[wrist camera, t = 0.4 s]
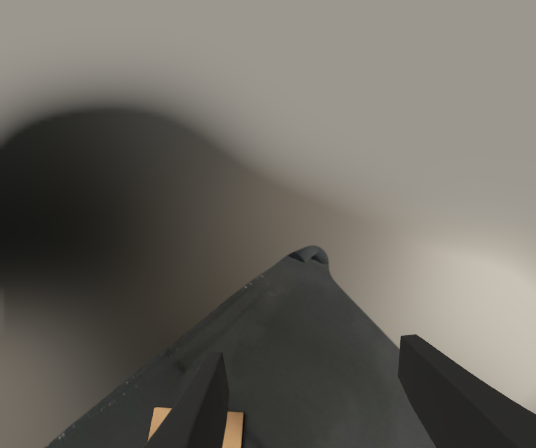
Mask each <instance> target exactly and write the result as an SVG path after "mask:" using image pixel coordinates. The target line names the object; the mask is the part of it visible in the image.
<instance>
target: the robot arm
mask: <svg viewBox="0 0 536 448" xmlns="http://www.w3.org/2000/svg"><path fill="white" fill-rule="evenodd" d="M398 377H399V379H400V382H401V384H402V386H403V388H404V391H405V393H406V395H407V397H408V399H409V401H410V403H411V405H412V407H413V409H414V410H415V412H416V414H417V416H418V417H419V419H420V421H421V422H422V424H423V426H424V428H425V429H426V431H427V433H428V434H429V436H430V438H431V439H432V441H433V443H434V444H435V446H436V448H536V414H534V413H532V412H531V411H529V410H527V409H525V408H524V407H522V406H521V405H519V404H517V403H516V402H514V401H512V400H511V399H509V398H508V397H506V396H504V395H503V394H502V393H500V392H498V391H497V390H495V389H494V388H492V387H491V386H489V385H488V384H486V383H485V382H483V381H481V380H480V379H479V378H477V377H476V376H474V375H473V374H471V373H470V372H468V371H467V370H465V369H464V368H463V367H461V366H460V365H458V364H457V363H455V362H454V361H453V360H451V359H450V358H448V357H447V356H446V355H444V354H443V353H441V352H440V351H439V350H437V349H436V348H435V347H433V346H432V345H430V344H429V343H428V342H426V341H425V340H423V339H422V338H420V337H419V336H417V335H405V336H401V340H400V355H399V369H398ZM228 400H229V388H228V382H227V376H226V371H225V365H224V359H223V354H222V352H218V353H207V354H206V355H205V357H204V359H203V360H202V362H201V364H200V365H199V367H198V369H197V370H196V372H195V374H194V375H193V377H192V379H191V380H190V382H189V383H188V385H187V387H186V388H185V390H184V391H183V393H182V394H181V396H180V397H179V399H178V400H177V402H176V403H175V405H174V406H173V408H172V409H171V410H170V412H169V413H168V415H167V416H166V417H165V419H164V420H163V421H162V423H161V424H160V426H159V427H158V428H157V430H156V431H155V432H154V434H153V435H152V436H151V438H150V439H149V440H148V441H147V443H146V444H145V445H144V446H143V448H222V446H223V441H224V435H225V429H226V423H227V413H228Z"/></svg>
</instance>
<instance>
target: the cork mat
mask: <svg viewBox="0 0 536 448" xmlns="http://www.w3.org/2000/svg"><path fill="white" fill-rule="evenodd" d="M171 409H172V408H161V407H155V409H154V414H153V418H152V423H151V428H150V433H149V438H148V440H149V439H150V438H151V436H152V435H153V434H154V432H155V431H156V430H157V428H158V427H159V426H160V424H161V423H162V421H163V420H164V419H165V417H166V416H167V415H168V413H169V412H170V410H171ZM243 416H244V412H228V413H227V423H226V429H225V435H224V441H223V446H222V448H241V444H242V430H243Z"/></svg>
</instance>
